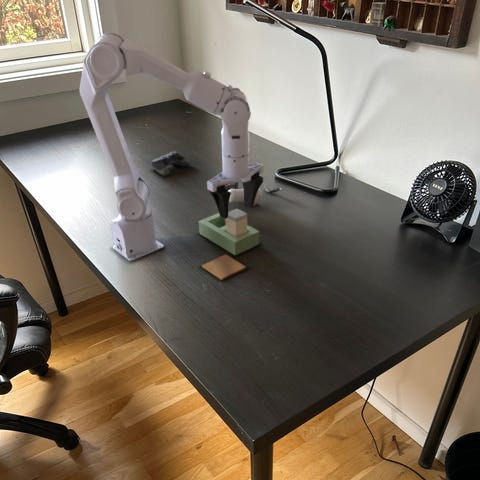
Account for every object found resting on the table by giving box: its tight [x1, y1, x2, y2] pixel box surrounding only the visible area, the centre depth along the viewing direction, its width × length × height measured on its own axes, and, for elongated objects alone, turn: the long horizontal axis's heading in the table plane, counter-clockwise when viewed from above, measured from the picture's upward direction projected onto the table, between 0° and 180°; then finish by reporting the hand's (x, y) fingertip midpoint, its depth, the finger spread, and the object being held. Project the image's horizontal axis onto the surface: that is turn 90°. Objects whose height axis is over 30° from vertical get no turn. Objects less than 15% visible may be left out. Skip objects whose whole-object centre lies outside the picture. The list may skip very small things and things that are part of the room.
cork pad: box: [201, 253, 247, 281], centre depth 110 cm, size 7×7×1 cm
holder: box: [198, 212, 260, 256], centre depth 119 cm, size 8×14×4 cm, turn 41°
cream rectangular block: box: [226, 208, 248, 238], centre depth 116 cm, size 4×4×8 cm
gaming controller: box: [149, 151, 191, 177], centre depth 152 cm, size 12×8×5 cm, turn 143°
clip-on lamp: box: [225, 174, 283, 206], centre depth 135 cm, size 12×6×18 cm
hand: (236, 211), depth 113 cm, fingers open, 7 cm apart
